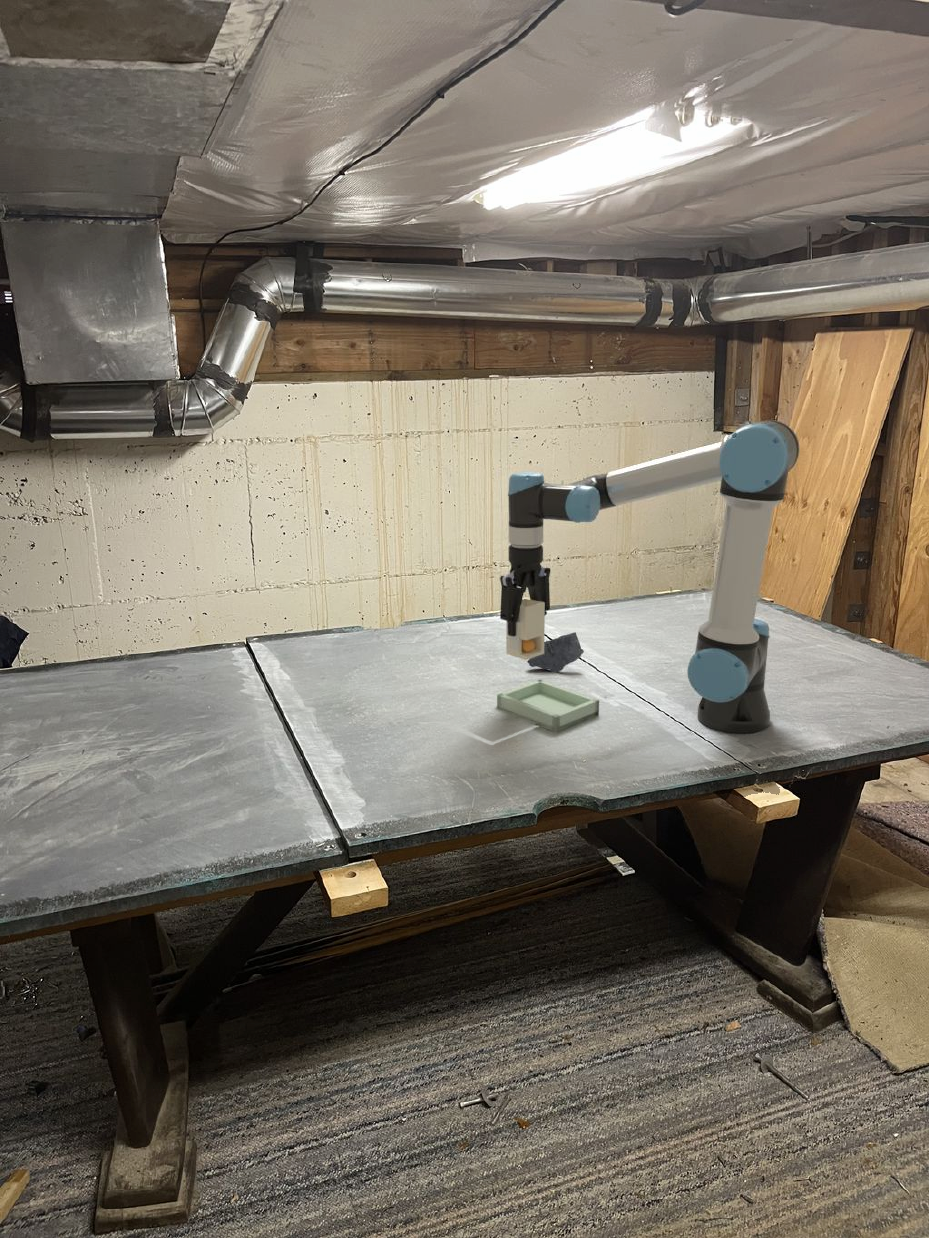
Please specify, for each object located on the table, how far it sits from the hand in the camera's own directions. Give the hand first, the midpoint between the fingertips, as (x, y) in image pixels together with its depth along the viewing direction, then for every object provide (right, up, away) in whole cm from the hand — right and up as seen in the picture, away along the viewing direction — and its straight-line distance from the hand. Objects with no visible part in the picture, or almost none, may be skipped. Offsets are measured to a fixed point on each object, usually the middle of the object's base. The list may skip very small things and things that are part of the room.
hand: (525, 645), depth 201 cm
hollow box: (0, -2, +1) cm, 2 cm away
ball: (0, -1, 0) cm, 1 cm away
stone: (+9, -8, +26) cm, 29 cm away
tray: (+5, -15, 0) cm, 16 cm away
